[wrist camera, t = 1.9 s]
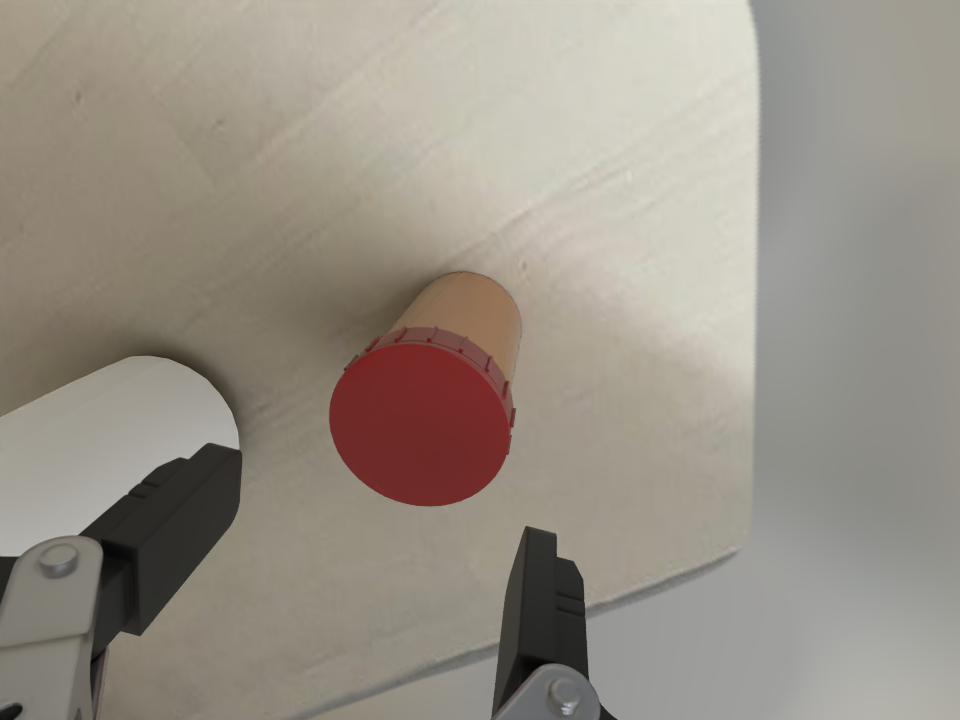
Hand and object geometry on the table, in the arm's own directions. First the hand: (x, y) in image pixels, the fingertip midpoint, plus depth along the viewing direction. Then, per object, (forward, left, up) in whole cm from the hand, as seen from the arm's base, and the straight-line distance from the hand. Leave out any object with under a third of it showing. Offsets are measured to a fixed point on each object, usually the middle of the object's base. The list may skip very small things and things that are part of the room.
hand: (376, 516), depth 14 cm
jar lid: (0, 0, -5) cm, 5 cm away
